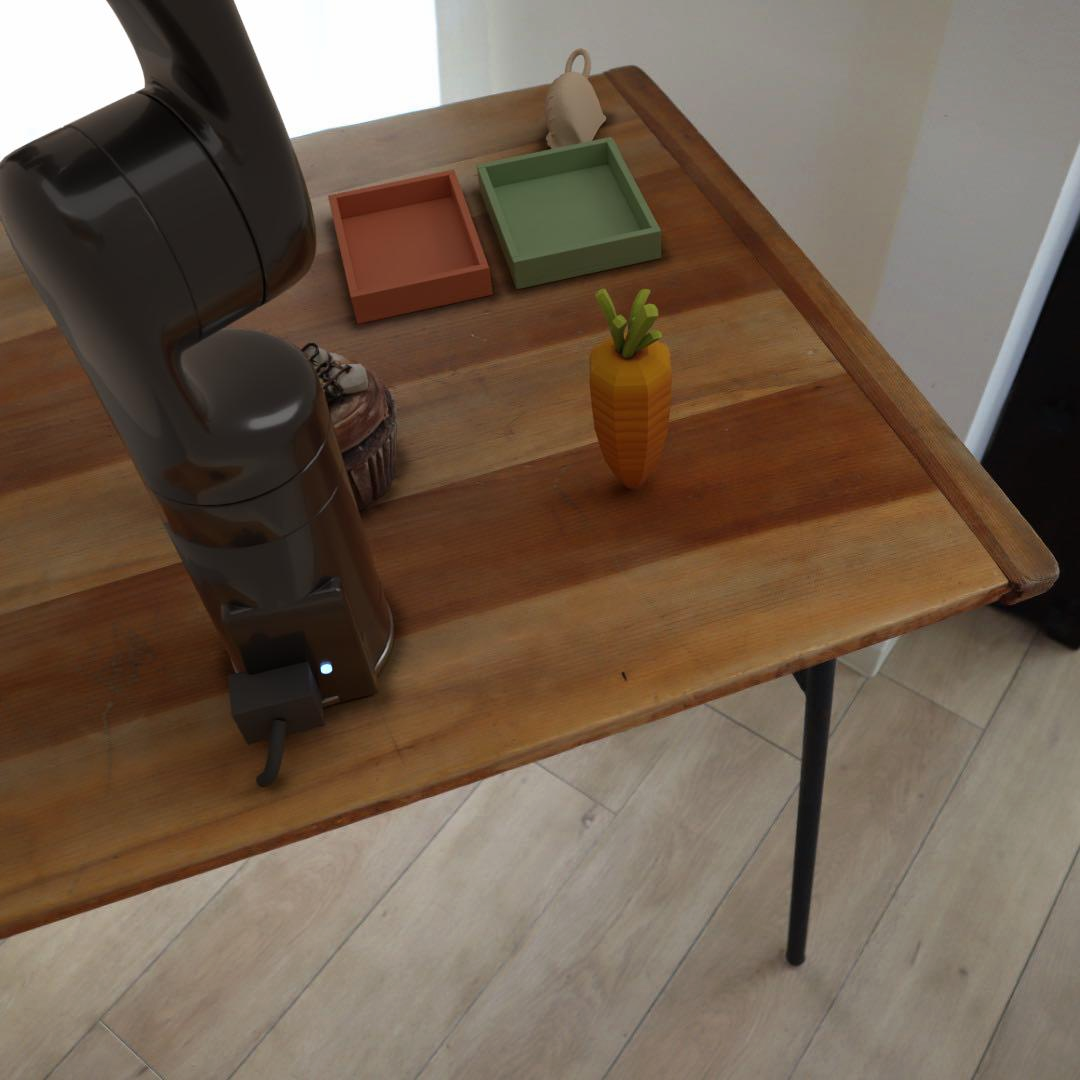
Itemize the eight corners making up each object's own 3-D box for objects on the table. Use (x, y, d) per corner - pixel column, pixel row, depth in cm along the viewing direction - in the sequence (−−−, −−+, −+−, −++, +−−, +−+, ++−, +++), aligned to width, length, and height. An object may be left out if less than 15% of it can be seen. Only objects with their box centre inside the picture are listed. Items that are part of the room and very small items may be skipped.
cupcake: (439, 451, 77) (415, 335, 70) (346, 552, 72) (309, 438, 65) (328, 402, 81) (294, 286, 73) (233, 494, 76) (185, 380, 69)
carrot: (581, 472, 75) (567, 284, 64) (652, 448, 76) (652, 258, 64) (611, 526, 72) (603, 339, 61) (685, 501, 73) (691, 312, 61)
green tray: (661, 258, 88) (661, 230, 86) (516, 289, 87) (513, 262, 85) (612, 163, 97) (611, 136, 95) (479, 191, 96) (476, 164, 94)
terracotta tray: (492, 294, 87) (489, 267, 85) (357, 324, 86) (350, 297, 84) (458, 195, 95) (454, 169, 94) (334, 221, 94) (327, 195, 93)
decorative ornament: (535, 156, 98) (529, 96, 94) (570, 103, 103) (566, 44, 99) (580, 163, 97) (577, 103, 93) (614, 109, 102) (612, 50, 98)
